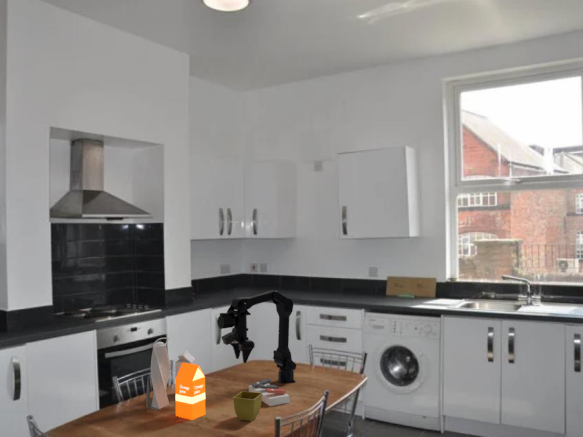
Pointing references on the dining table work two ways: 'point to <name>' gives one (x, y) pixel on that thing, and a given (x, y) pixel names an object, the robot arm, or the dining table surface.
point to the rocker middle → (268, 386)
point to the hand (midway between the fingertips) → (241, 360)
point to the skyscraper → (159, 376)
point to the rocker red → (275, 391)
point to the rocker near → (261, 382)
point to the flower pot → (247, 405)
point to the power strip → (271, 396)
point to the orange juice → (190, 392)
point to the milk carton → (183, 359)
